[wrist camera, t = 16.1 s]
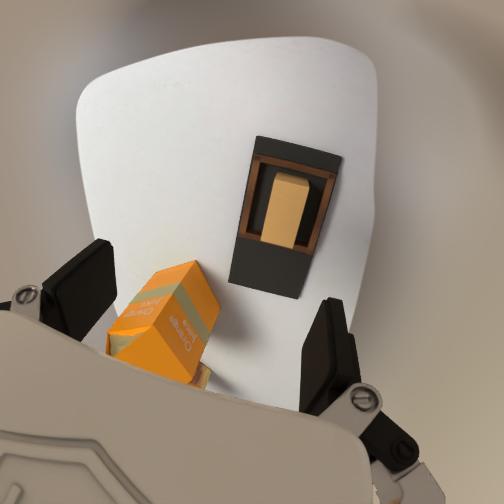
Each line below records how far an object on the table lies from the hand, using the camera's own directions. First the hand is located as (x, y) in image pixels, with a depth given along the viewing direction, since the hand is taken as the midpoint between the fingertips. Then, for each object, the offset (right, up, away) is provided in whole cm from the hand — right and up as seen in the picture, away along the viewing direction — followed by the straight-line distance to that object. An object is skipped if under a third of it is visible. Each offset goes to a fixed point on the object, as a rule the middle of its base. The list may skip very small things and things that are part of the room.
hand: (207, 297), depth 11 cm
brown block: (+6, +8, +22) cm, 24 cm away
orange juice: (-8, -4, +31) cm, 32 cm away
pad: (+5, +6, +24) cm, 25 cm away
